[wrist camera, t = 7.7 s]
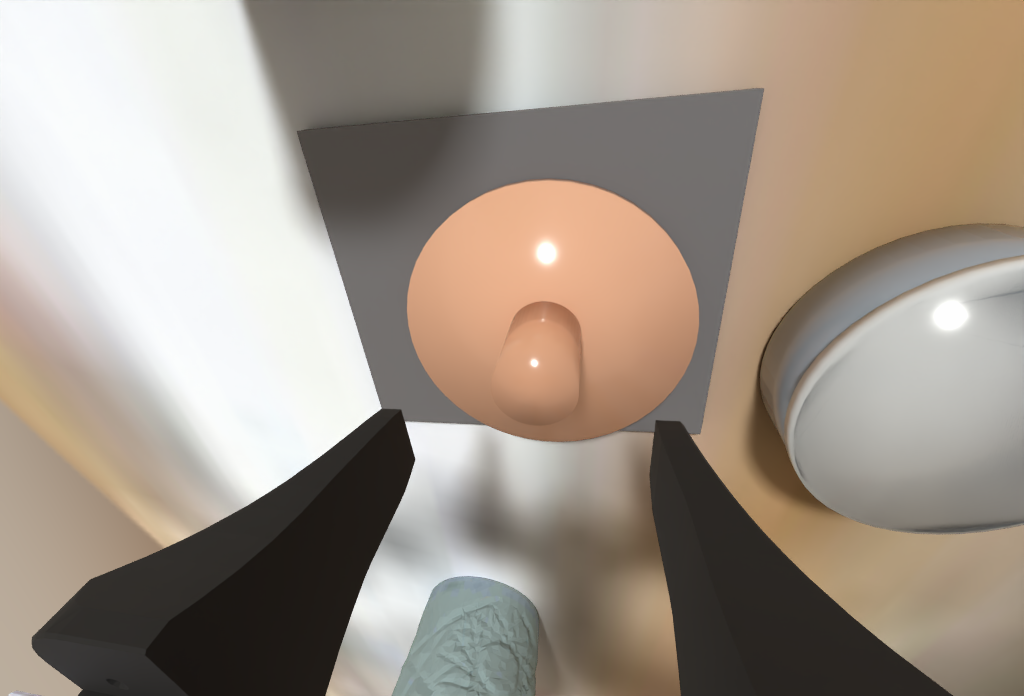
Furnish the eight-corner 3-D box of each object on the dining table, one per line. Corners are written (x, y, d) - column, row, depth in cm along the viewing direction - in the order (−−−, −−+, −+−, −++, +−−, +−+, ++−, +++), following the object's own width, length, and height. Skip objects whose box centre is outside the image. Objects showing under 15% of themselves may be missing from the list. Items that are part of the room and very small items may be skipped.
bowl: (1183, 210, 13) (1380, 252, 10) (1004, 465, 19) (1092, 547, 16) (789, 225, 15) (843, 264, 12) (734, 452, 21) (760, 521, 18)
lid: (755, 230, 15) (813, 282, 11) (628, 457, 22) (636, 542, 18) (432, 137, 15) (374, 156, 11) (401, 390, 22) (357, 460, 18)
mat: (757, 88, 14) (764, 88, 13) (697, 425, 21) (700, 434, 20) (305, 129, 16) (296, 131, 16) (389, 412, 24) (385, 419, 23)
